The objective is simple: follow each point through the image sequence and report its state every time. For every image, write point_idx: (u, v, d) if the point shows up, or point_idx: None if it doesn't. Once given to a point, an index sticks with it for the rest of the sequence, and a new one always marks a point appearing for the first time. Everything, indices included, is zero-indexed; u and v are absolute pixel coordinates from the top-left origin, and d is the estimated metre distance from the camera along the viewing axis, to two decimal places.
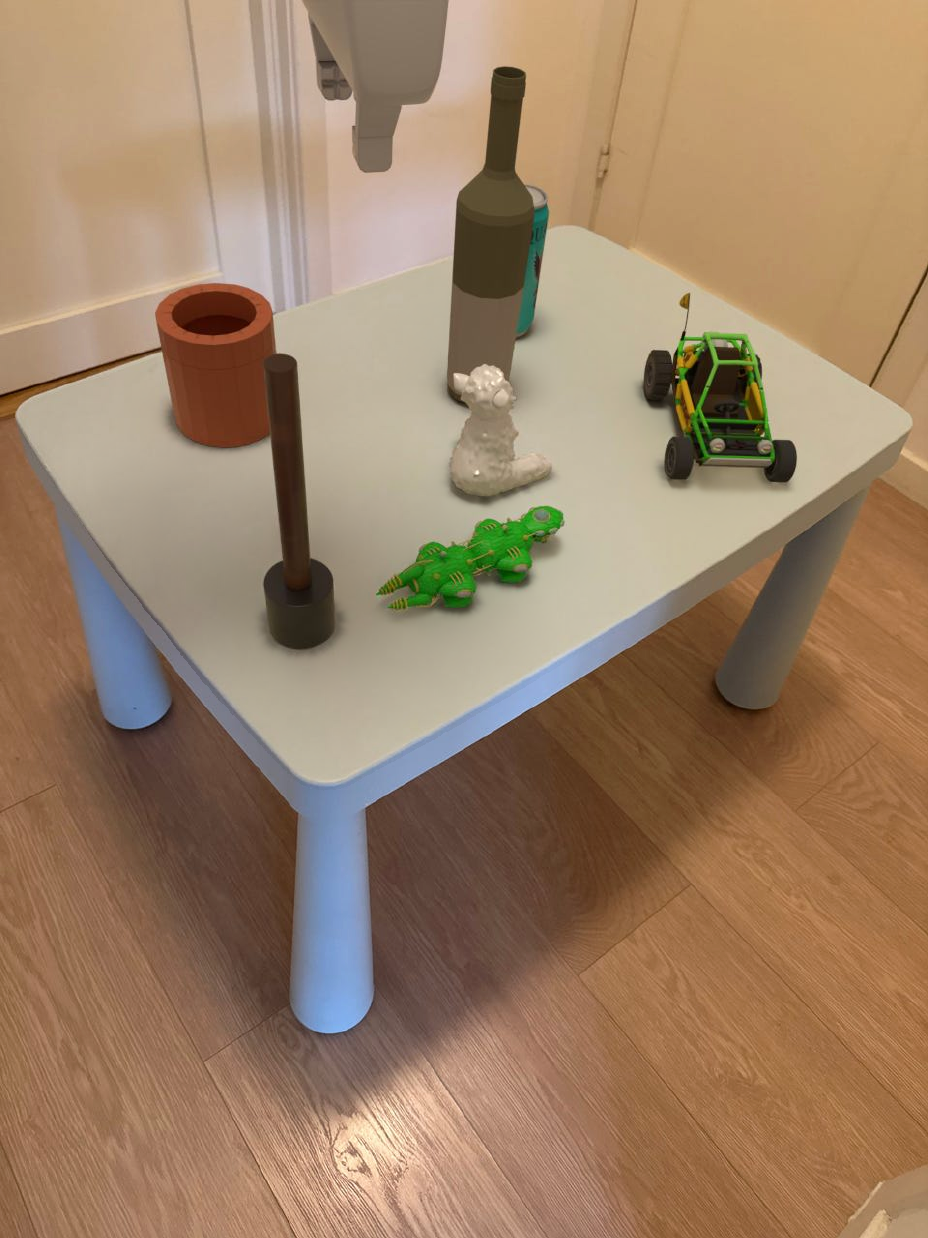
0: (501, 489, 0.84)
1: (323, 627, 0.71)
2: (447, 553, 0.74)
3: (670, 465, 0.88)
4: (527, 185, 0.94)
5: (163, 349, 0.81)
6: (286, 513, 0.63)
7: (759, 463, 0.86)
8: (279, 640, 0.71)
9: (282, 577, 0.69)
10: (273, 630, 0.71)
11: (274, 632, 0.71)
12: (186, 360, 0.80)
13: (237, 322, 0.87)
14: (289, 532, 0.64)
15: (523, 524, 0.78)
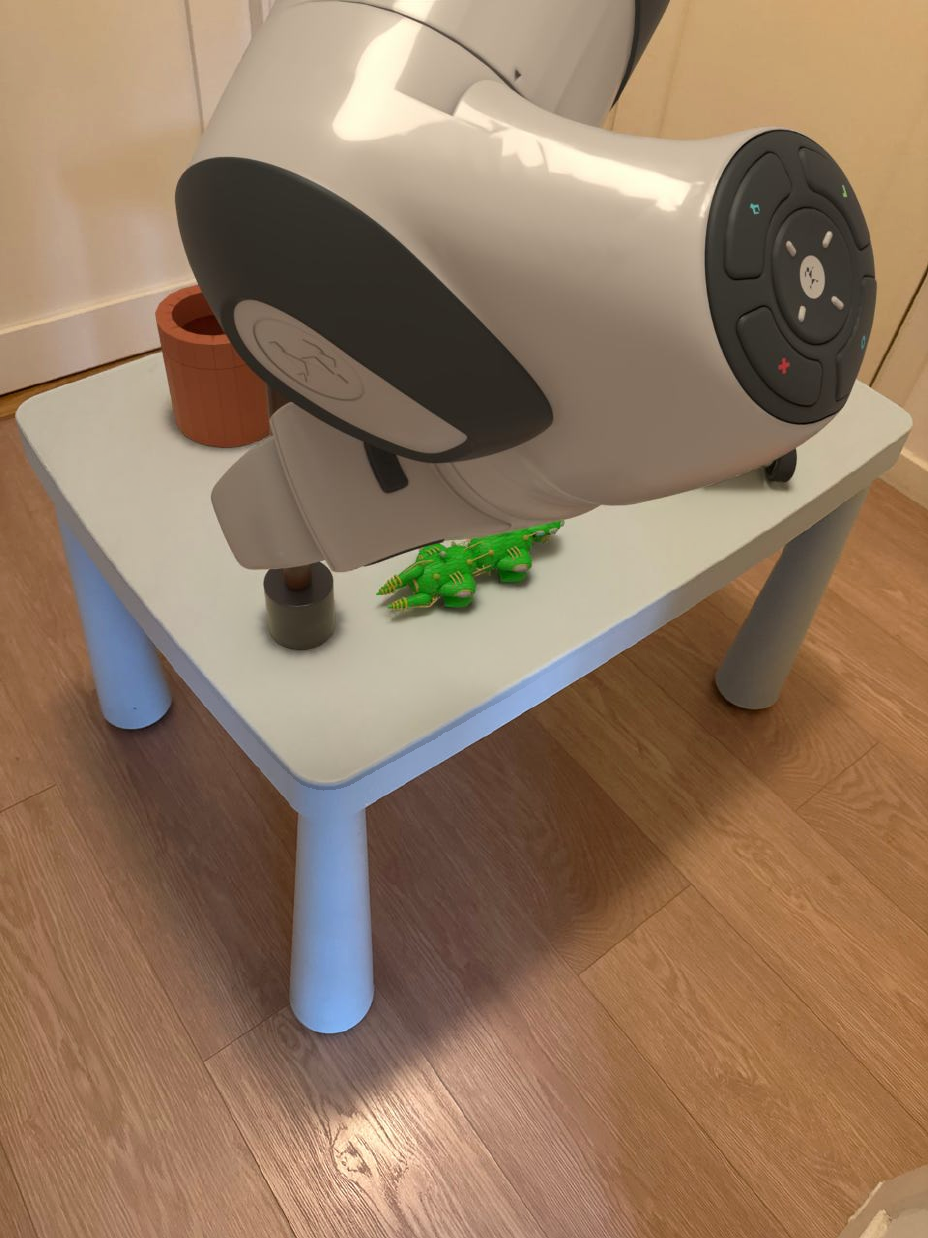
0: None
1: (323, 627, 0.71)
2: (447, 553, 0.74)
3: None
4: None
5: (163, 349, 0.81)
6: None
7: None
8: (279, 640, 0.71)
9: (282, 577, 0.69)
10: (273, 630, 0.71)
11: (274, 632, 0.71)
12: (186, 360, 0.80)
13: None
14: None
15: None
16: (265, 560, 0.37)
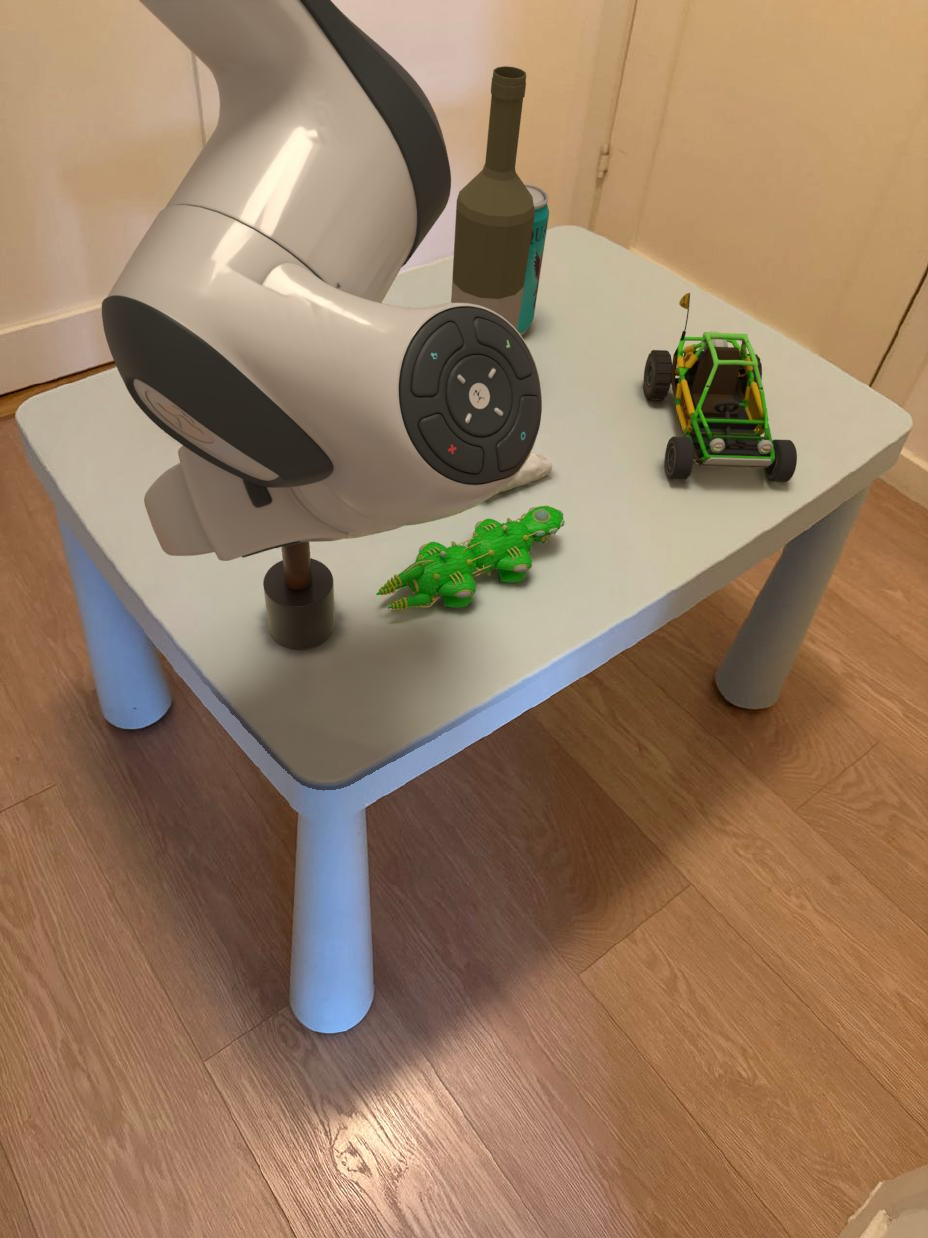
0: (501, 489, 0.84)
1: (323, 627, 0.71)
2: (447, 553, 0.74)
3: (670, 465, 0.88)
4: (527, 185, 0.94)
5: None
6: None
7: (759, 463, 0.86)
8: (279, 640, 0.71)
9: (282, 577, 0.69)
10: (273, 630, 0.71)
11: (274, 632, 0.71)
12: None
13: None
14: None
15: (523, 524, 0.78)
16: (177, 549, 0.51)
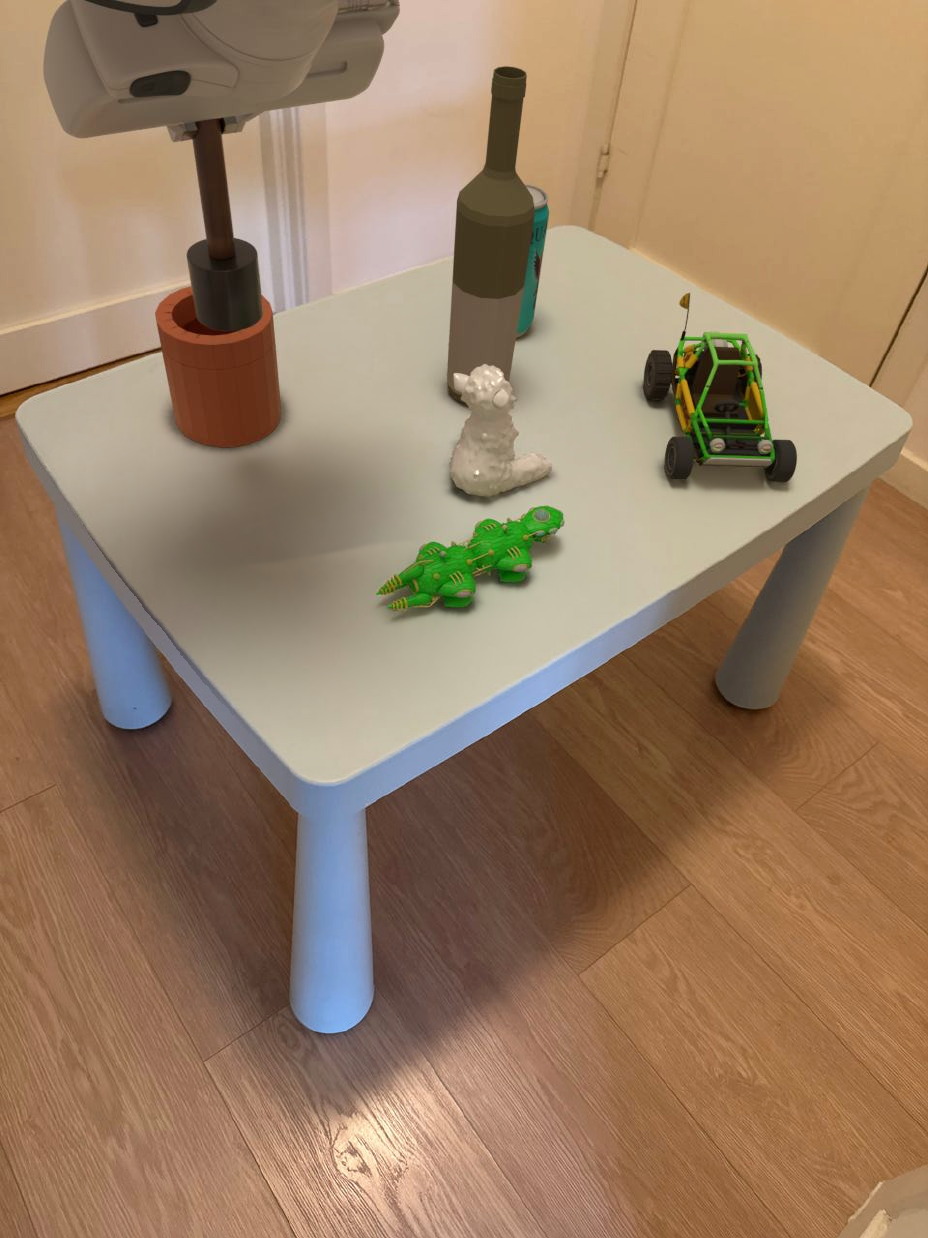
0: (501, 489, 0.84)
1: (248, 306, 0.71)
2: (447, 553, 0.74)
3: (670, 465, 0.88)
4: (527, 185, 0.94)
5: (163, 349, 0.81)
6: (202, 151, 0.63)
7: (759, 463, 0.86)
8: (205, 320, 0.71)
9: (206, 250, 0.69)
10: (198, 310, 0.71)
11: (199, 312, 0.71)
12: (186, 360, 0.80)
13: None
14: (206, 177, 0.64)
15: (523, 524, 0.78)
16: (72, 106, 0.51)
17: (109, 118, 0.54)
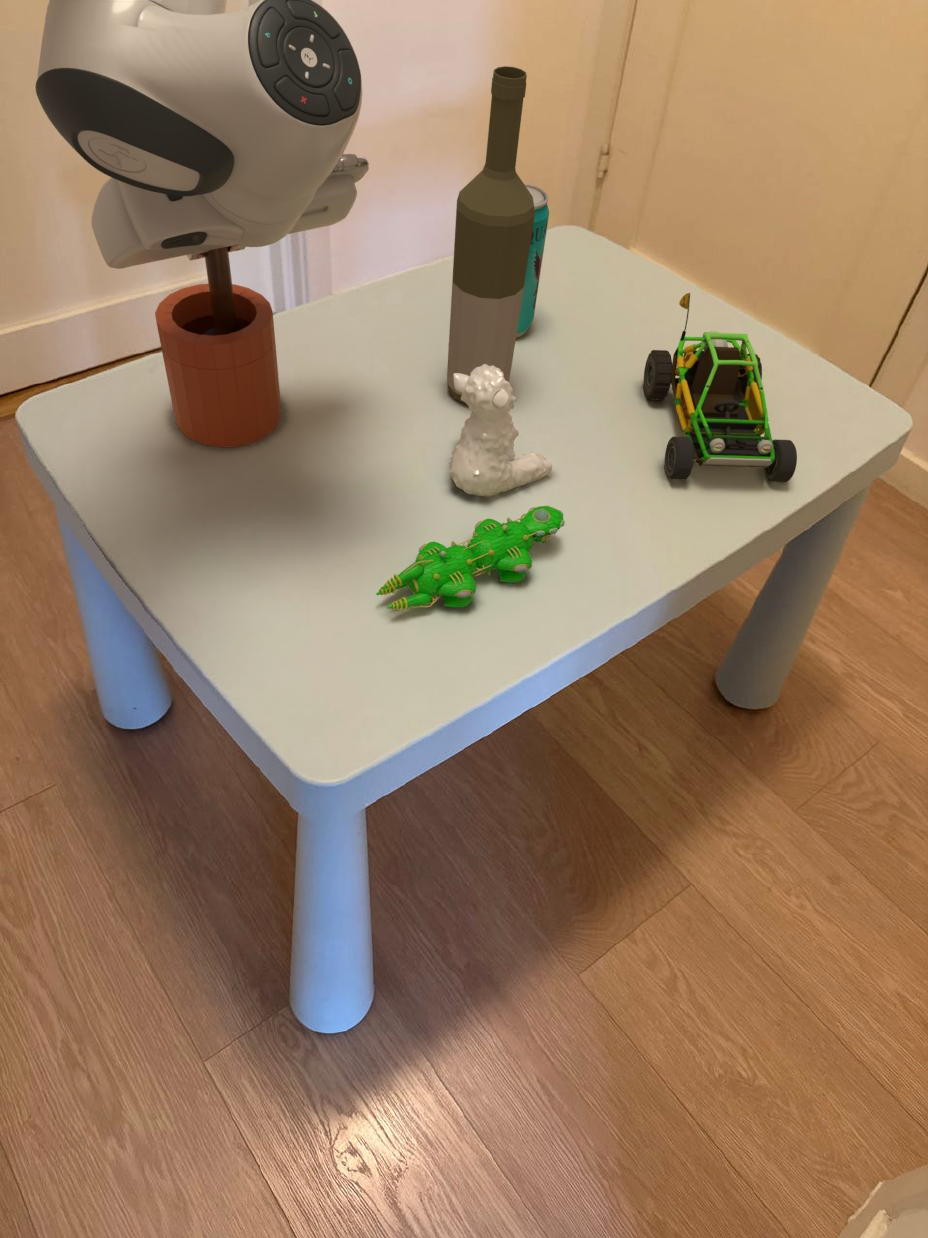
0: (501, 489, 0.84)
1: None
2: (447, 553, 0.74)
3: (670, 465, 0.88)
4: (527, 185, 0.94)
5: (163, 349, 0.81)
6: (212, 266, 0.78)
7: (759, 463, 0.86)
8: None
9: None
10: None
11: None
12: (186, 360, 0.80)
13: (237, 322, 0.87)
14: (215, 285, 0.80)
15: (523, 524, 0.78)
16: (115, 251, 0.67)
17: (142, 255, 0.69)
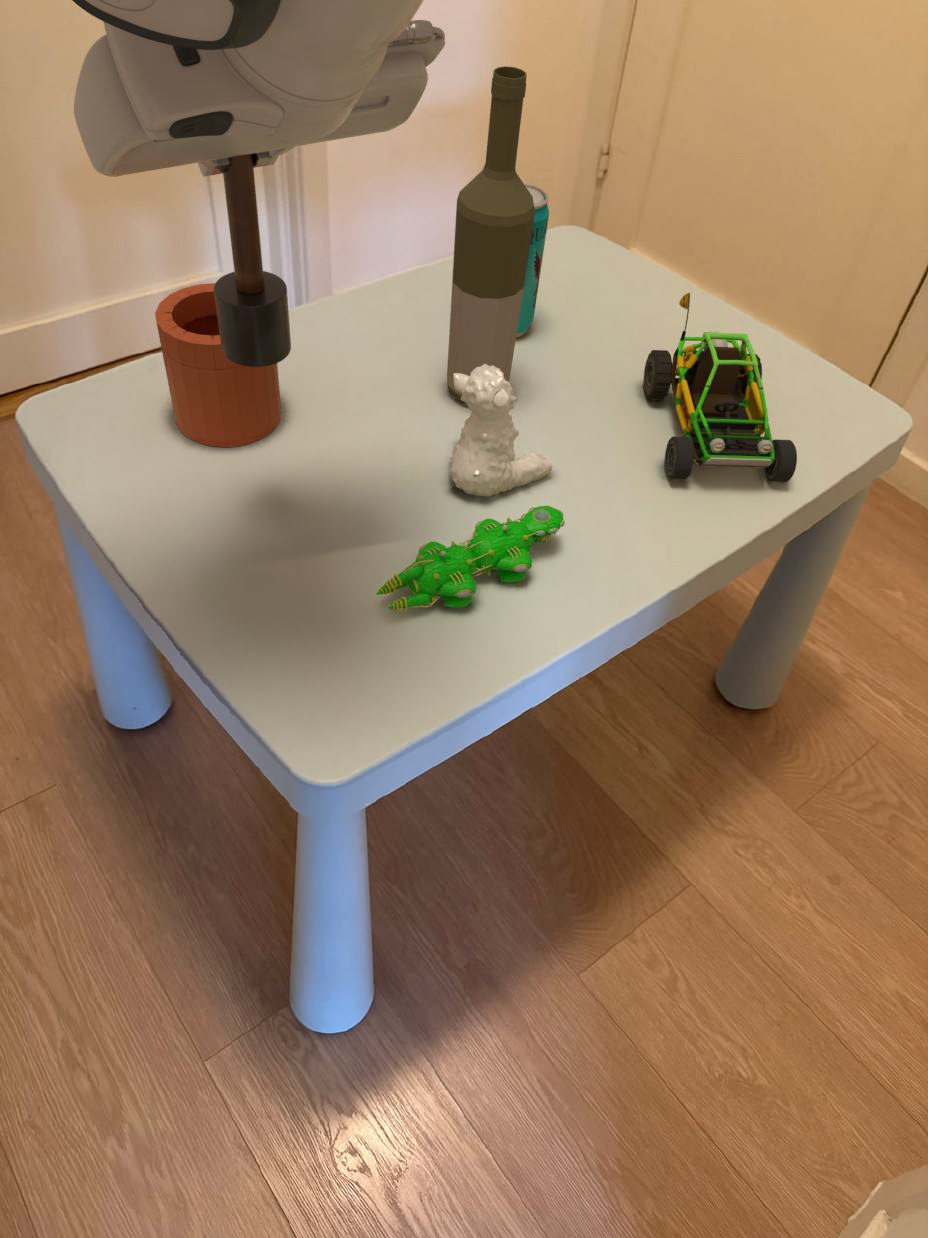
0: (501, 489, 0.84)
1: (277, 341, 0.68)
2: (447, 553, 0.74)
3: (670, 465, 0.88)
4: (527, 185, 0.94)
5: (163, 349, 0.81)
6: (233, 185, 0.60)
7: (759, 463, 0.86)
8: (232, 356, 0.69)
9: (233, 284, 0.67)
10: (225, 346, 0.69)
11: (226, 348, 0.69)
12: (186, 360, 0.80)
13: None
14: (236, 211, 0.62)
15: (523, 524, 0.78)
16: (106, 146, 0.49)
17: (143, 157, 0.51)
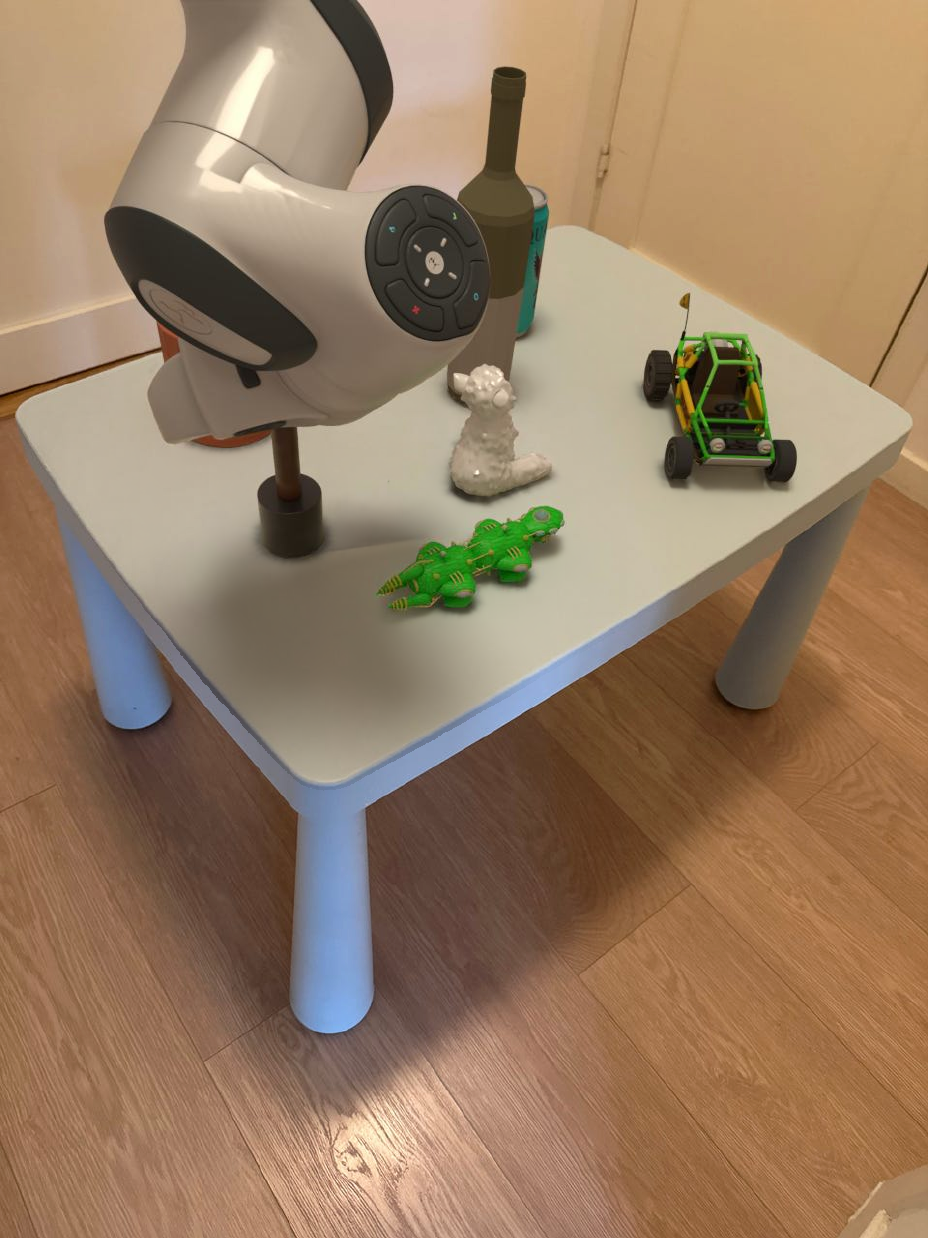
0: (501, 489, 0.84)
1: (312, 536, 0.77)
2: (447, 553, 0.74)
3: (670, 465, 0.88)
4: (527, 185, 0.94)
5: (163, 349, 0.81)
6: None
7: (759, 463, 0.86)
8: (272, 548, 0.78)
9: (274, 489, 0.76)
10: (266, 540, 0.77)
11: (267, 541, 0.77)
12: None
13: None
14: (280, 441, 0.71)
15: (523, 524, 0.78)
16: (177, 434, 0.58)
17: None
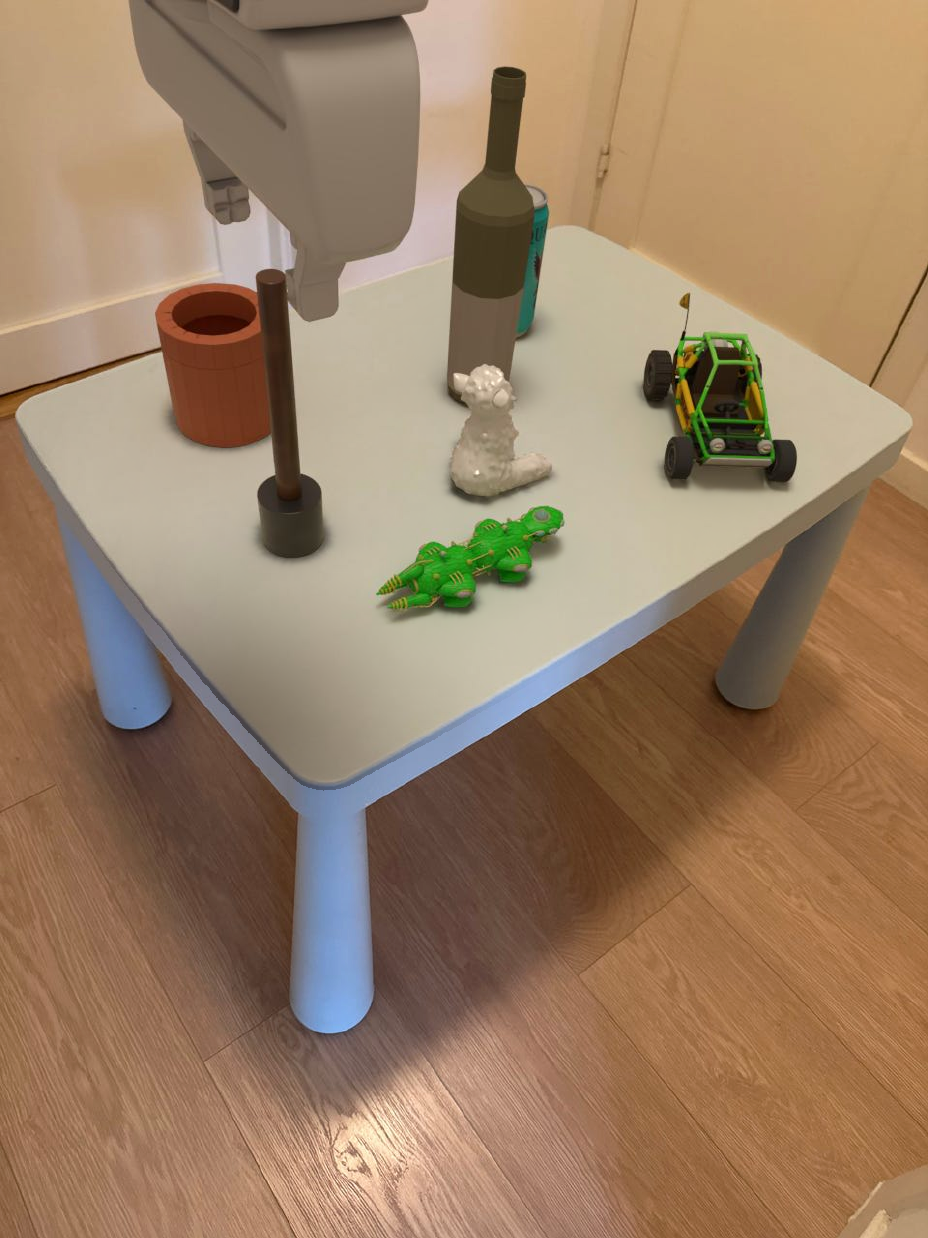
0: (501, 489, 0.84)
1: (312, 536, 0.77)
2: (447, 553, 0.74)
3: (670, 465, 0.88)
4: (527, 185, 0.94)
5: (163, 349, 0.81)
6: (278, 422, 0.69)
7: (759, 463, 0.86)
8: (272, 548, 0.78)
9: (274, 489, 0.76)
10: (266, 540, 0.77)
11: (267, 541, 0.77)
12: (186, 360, 0.80)
13: (237, 322, 0.87)
14: (280, 441, 0.71)
15: (523, 524, 0.78)
16: (411, 133, 0.32)
17: None
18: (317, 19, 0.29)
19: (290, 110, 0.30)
